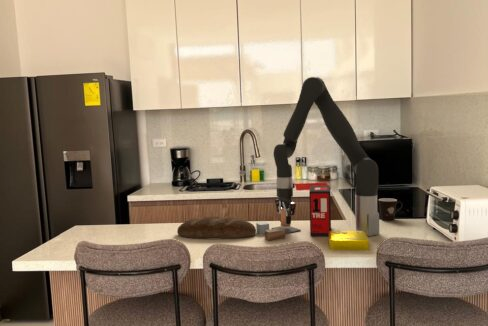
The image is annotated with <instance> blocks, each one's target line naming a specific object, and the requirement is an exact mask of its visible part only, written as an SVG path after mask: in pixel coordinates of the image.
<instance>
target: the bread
mask: <svg viewBox="0 0 488 326" xmlns="http://www.w3.org/2000/svg"><path fill="white" fill-rule="evenodd" d="M176 232H177V235H178V236H180V237H184V238H185V237H186V238H192V239H206V238H221V240H222V239H223V240H224V239H240V238H241V239H243V238H250V237H253V236H255V235H256V233H257V228H256V226H255V225H254V224H252V223H251V222H249V221H247V220H244V219H239V218H236V217H231V216H230V217H220V216H205V217H200V218H198V217H197V218H192V219H189V220H186V221H184V222H183V223H181V224H180V225H179V226H178V228H177V231H176Z"/></svg>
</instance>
